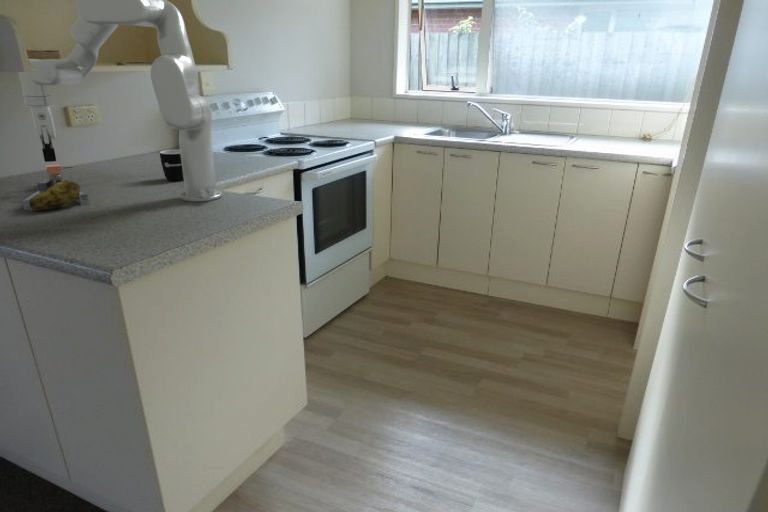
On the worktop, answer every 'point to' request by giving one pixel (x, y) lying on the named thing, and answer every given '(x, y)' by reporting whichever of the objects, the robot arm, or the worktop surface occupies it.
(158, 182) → the worktop surface
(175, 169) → the mug
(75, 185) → the potato
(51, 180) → the tongs fixed
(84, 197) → the tongs jaw
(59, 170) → the tab
